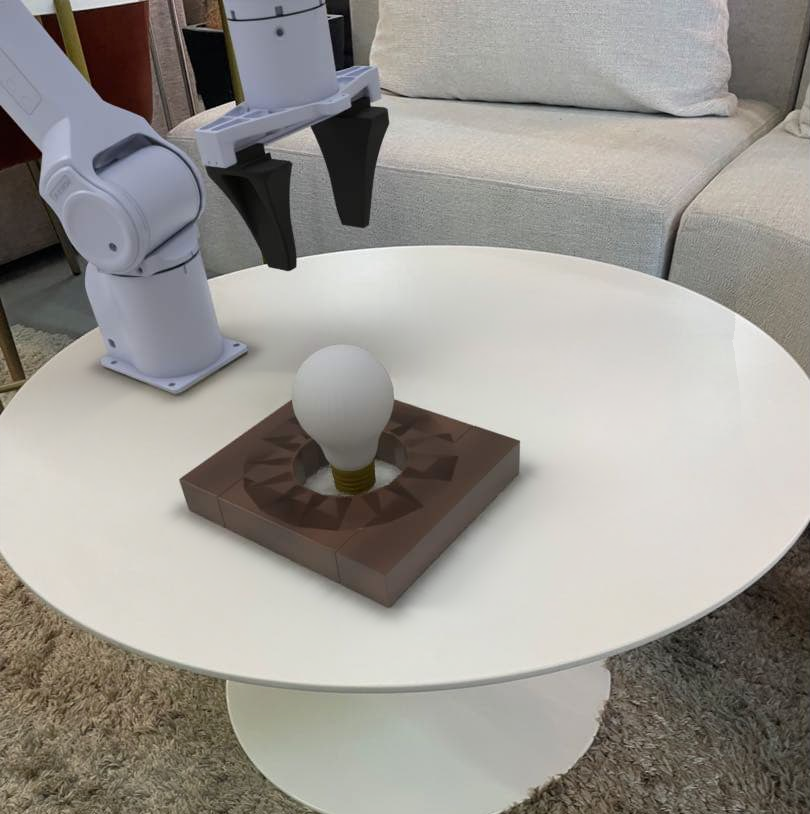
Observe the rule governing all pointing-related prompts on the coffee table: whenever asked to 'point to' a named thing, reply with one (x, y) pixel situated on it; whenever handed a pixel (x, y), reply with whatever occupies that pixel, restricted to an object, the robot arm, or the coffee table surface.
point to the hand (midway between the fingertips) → (320, 245)
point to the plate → (356, 496)
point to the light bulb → (345, 410)
